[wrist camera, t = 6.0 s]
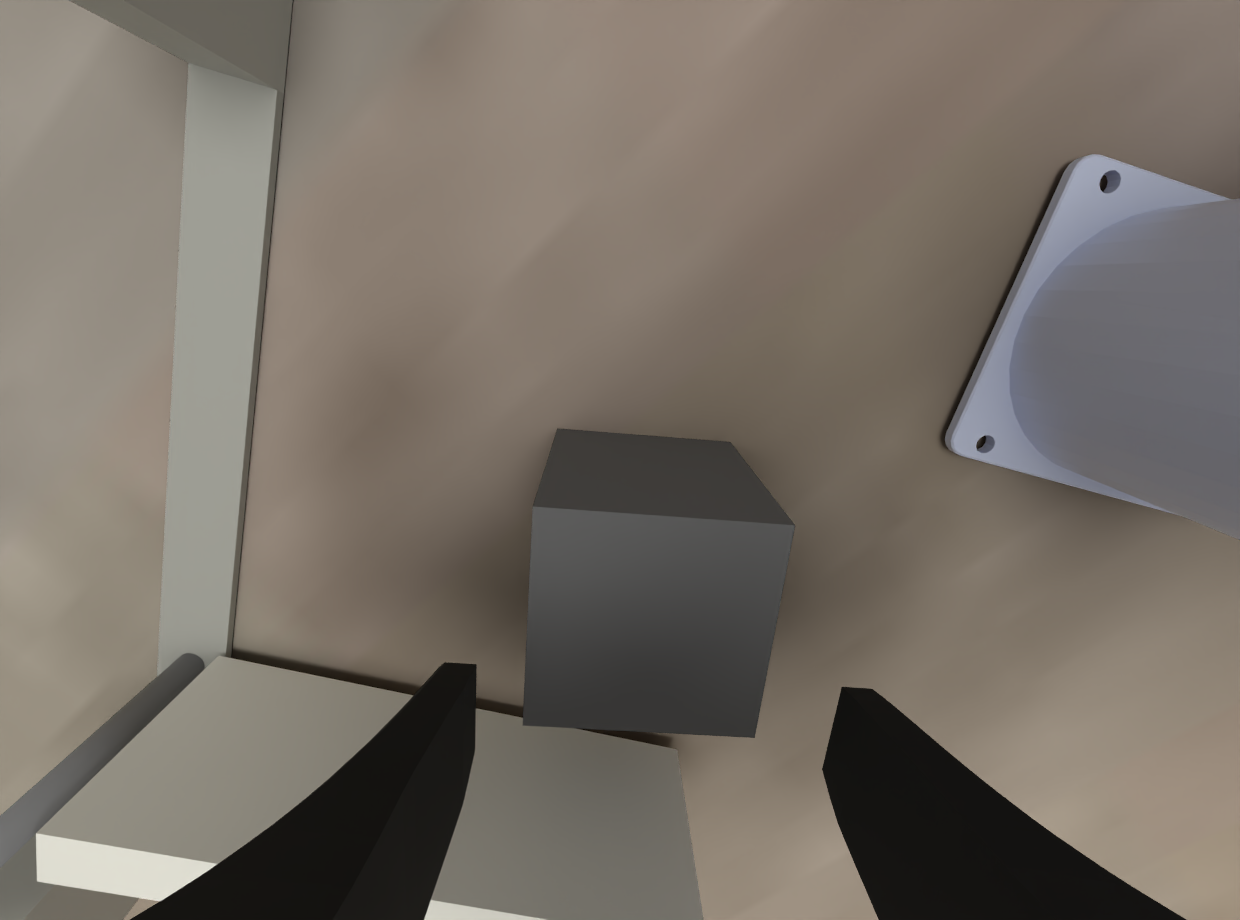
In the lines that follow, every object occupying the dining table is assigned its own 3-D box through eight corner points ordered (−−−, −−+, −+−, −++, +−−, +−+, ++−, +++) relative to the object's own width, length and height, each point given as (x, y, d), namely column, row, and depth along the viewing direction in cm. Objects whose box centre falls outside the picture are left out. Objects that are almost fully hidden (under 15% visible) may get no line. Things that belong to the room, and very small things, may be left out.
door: (651, 816, 20) (670, 1029, 14) (211, 732, 19) (37, 933, 13) (677, 749, 19) (707, 946, 14) (218, 655, 18) (35, 833, 12)
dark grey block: (730, 442, 17) (795, 525, 11) (695, 674, 19) (734, 842, 13) (557, 428, 17) (532, 506, 11) (543, 665, 19) (517, 833, 13)
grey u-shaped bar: (302, -106, 13) (-30, -532, 6) (217, 793, 20) (24, 1050, 13) (208, -138, 13) (-243, -615, 6) (157, 782, 20) (-70, 1038, 13)
